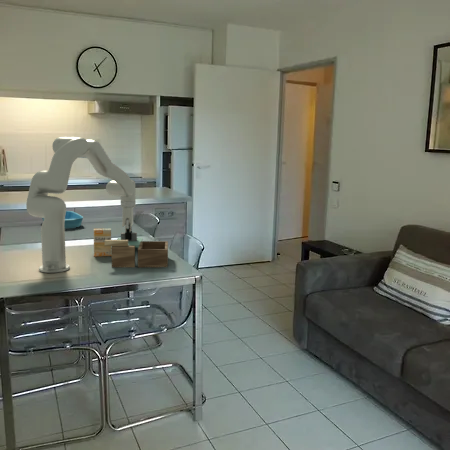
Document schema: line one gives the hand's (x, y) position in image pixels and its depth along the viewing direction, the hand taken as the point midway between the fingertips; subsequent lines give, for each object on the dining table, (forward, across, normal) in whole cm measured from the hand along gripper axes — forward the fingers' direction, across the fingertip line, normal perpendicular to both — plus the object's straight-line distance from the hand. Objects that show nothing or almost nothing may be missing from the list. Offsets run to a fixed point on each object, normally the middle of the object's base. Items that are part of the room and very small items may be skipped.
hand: (128, 238), depth 254 cm
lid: (+2, +2, 0) cm, 3 cm away
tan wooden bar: (-5, +38, -2) cm, 38 cm away
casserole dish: (+5, -66, -48) cm, 82 cm away
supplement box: (+5, +17, -11) cm, 21 cm away
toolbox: (+5, +31, +8) cm, 32 cm away
